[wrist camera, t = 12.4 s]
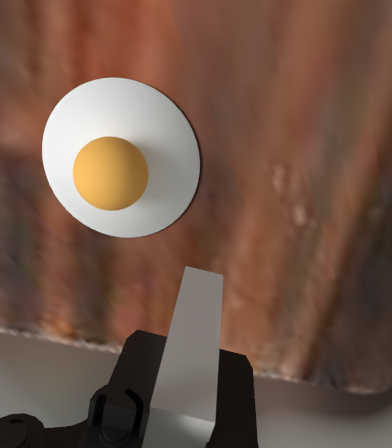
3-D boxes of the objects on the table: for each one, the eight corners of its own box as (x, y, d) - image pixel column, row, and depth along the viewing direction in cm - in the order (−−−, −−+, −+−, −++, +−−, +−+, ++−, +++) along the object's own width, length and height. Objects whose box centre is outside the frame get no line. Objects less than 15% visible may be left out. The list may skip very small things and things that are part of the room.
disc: (48, 59, 27) (47, 59, 27) (217, 100, 27) (217, 100, 27) (39, 216, 32) (38, 217, 32) (181, 251, 32) (181, 252, 32)
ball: (158, 138, 29) (90, 126, 29) (142, 151, 24) (60, 136, 24) (151, 203, 31) (87, 191, 31) (134, 228, 26) (58, 214, 26)
